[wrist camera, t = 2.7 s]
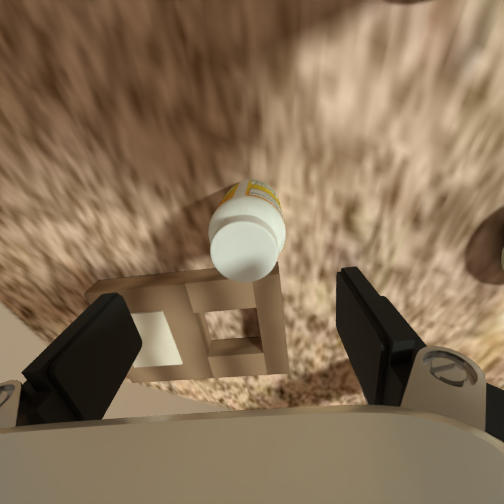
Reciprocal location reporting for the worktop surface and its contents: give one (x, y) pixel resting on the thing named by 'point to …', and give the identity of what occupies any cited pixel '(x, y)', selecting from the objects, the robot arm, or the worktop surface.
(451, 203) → the worktop surface
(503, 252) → the saucer
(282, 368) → the rack board
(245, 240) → the supplement bottle
